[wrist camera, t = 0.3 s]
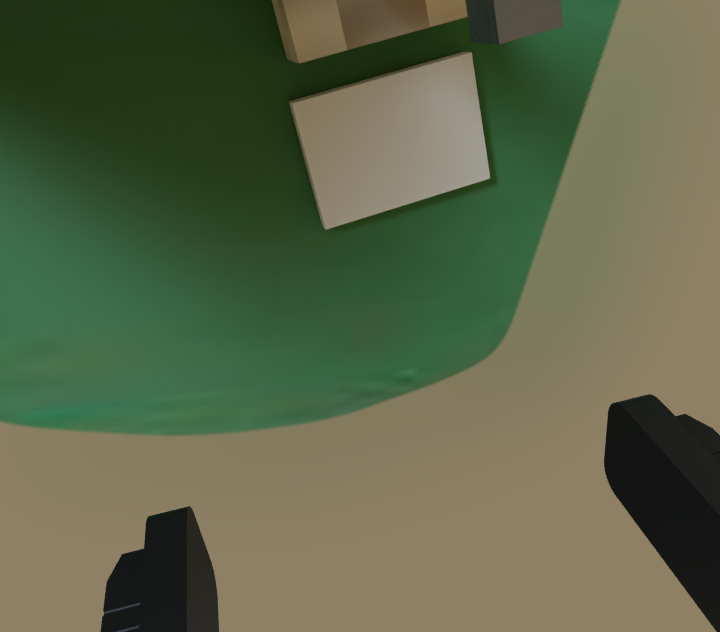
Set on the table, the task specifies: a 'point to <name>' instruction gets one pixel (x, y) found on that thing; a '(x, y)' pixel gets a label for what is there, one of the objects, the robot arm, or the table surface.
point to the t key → (511, 19)
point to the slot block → (355, 23)
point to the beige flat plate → (392, 139)
